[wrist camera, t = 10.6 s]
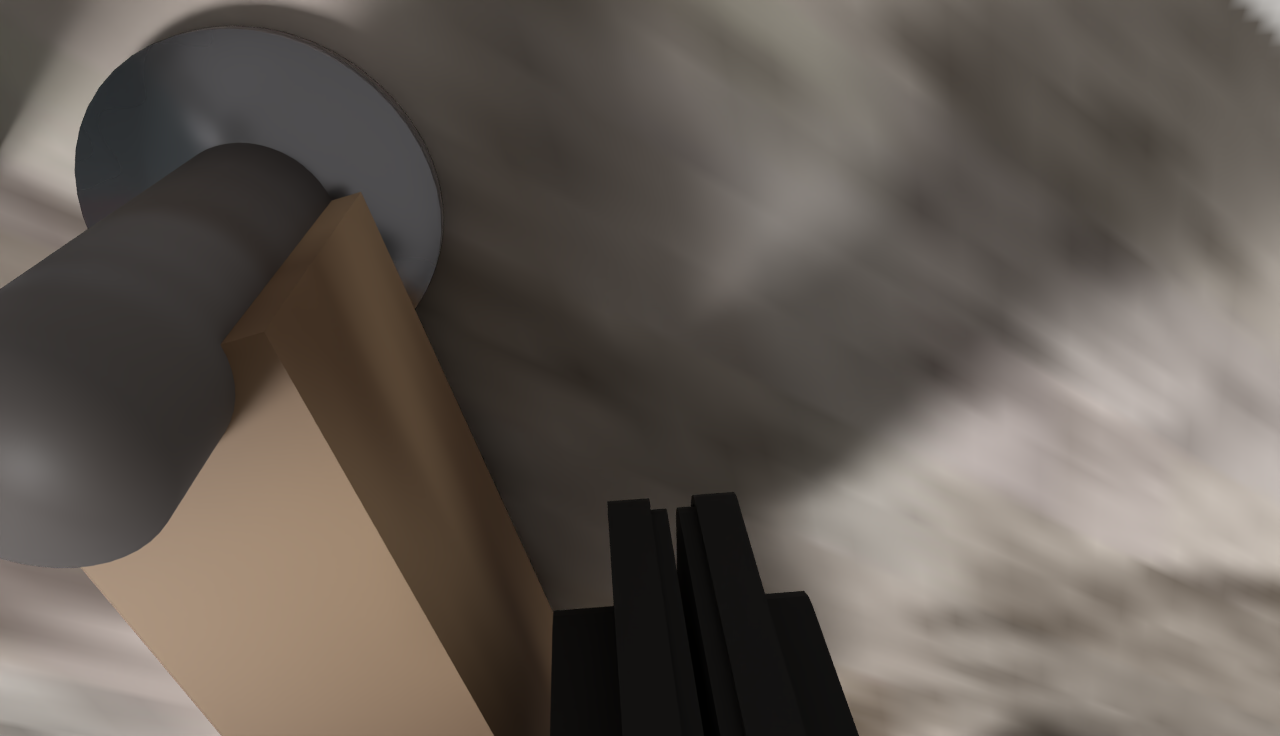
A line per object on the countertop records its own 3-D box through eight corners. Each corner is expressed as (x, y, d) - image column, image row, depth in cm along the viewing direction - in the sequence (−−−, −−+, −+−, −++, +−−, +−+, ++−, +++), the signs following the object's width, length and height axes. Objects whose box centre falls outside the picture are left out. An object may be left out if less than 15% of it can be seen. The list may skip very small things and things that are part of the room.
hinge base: (20, 208, 10) (5, 216, 9) (216, -61, 8) (206, -61, 8) (314, 407, 11) (308, 419, 11) (512, 203, 10) (510, 211, 10)
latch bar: (107, 178, 9) (-260, 399, 5) (324, 112, 9) (129, 283, 5) (510, 835, 15) (494, 1165, 11) (640, 803, 15) (669, 1126, 11)
